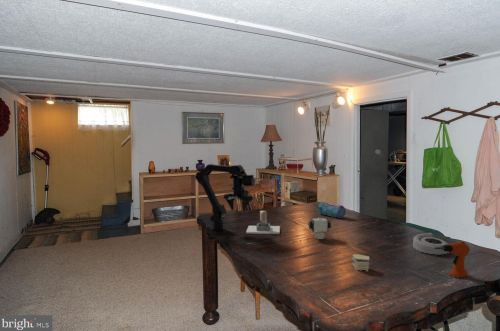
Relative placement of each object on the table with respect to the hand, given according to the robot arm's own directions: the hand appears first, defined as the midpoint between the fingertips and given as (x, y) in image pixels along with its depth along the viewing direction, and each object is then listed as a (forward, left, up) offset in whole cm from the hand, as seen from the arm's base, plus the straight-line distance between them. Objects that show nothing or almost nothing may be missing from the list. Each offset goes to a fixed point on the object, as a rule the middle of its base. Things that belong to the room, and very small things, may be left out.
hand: (238, 211), depth 193 cm
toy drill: (+111, -1, -13) cm, 111 cm away
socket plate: (+11, +11, -13) cm, 20 cm away
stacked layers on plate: (+79, -13, -14) cm, 81 cm away
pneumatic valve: (+46, +16, -13) cm, 50 cm away
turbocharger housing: (+99, +29, -14) cm, 104 cm away
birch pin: (+11, +11, -12) cm, 20 cm away
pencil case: (+30, +70, -13) cm, 77 cm away
